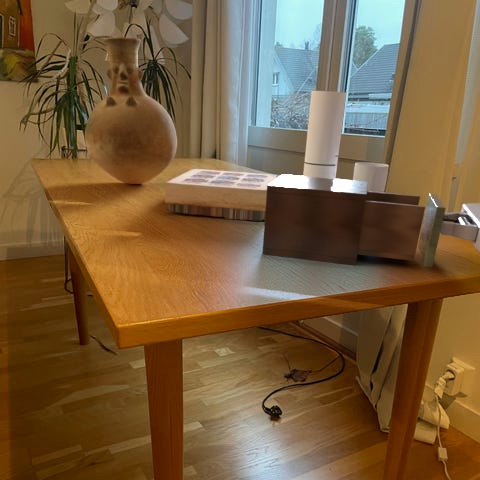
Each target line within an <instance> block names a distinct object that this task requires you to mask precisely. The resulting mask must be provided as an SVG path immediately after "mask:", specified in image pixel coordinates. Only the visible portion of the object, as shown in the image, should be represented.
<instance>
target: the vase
mask: <svg viewBox="0 0 480 480" xmlns="http://www.w3.org/2000/svg"><path fill="white" fill-rule="evenodd" d="M102 41H103V43H104V45H105V47H106V50H107V53H108V57H109V62H110V66H109V68H108V69H107V71H106V75H107V77H108V79H109V80H110V81H111V88H110V91H109V94H108V95H107V96H106V97H105V98H103V99H102V100H100V101H99V102H98V103H97V104H96V105H95V107H94V108H93V109H92V111H91V112H90V114H89V116H88V119H87V121H86V124H85V129H84V142H85V148H86V151H87V153H88V155H89V157H90V159H92V161H93V162H94V163H95V164H96V165H97V166H98V167H99V168H100V169H101V170H103V171H104V172H105V173H107V174H108V175H109V176H111V177H112V178H114V179H116V180H118V181H119V182H122V183H125V184H129V185H139V184H140V185H141V184H145V183H148V182H150V181H151V180H153V179H154V178H156V177H158V176H159V175H160V174H161V173H163V171H165V170H166V169H167V168H168V167H169V166H170V164H171V163H172V162H173V160H174V158H175V156H176V153H177V148H178V136H177V132H176V128H175V124H174V122H173V119H172V117H171V116H170V114H169V113H168V111H167V110H166V109H165V107H164V106H163V105H162V104H160V102H158V101H157V100H155V99H154V98H152V97H150V96H149V95H148V94H147V93H146V92H145V90H144V86H143V84H142V79H143V77H144V72H143V70H142V69H141V68H139V49H140V46H141V44H142V40H141V39H140V38H136V37H124V36H112V37H111V36H110V37H106V38H103V39H102Z"/></svg>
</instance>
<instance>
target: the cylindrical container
mask: <svg viewBox="0 0 480 480" xmlns="http://www.w3.org/2000/svg"><path fill="white" fill-rule="evenodd" d="M346 100H347V92H346V91H345V92H344V91H331V90H330V91H329V90H311V94H310V104H309V111H308V112H309V113H308V121H307V122H308V125H307V132H306V133H307V134H306V145H305V151H304V152H305V154H304V164H303V174H302V176H306V177H317V178H329V179H337V178H336V176H337V169H338V163H339V154H340V146H341V138H342V131H343V130H342V129H343V123H344V115H345V108H346V107H345V106H346Z"/></svg>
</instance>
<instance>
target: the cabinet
mask: <svg viewBox="0 0 480 480" xmlns="http://www.w3.org/2000/svg"><path fill="white" fill-rule="evenodd" d="M367 188H368V182H364V181H353V179H341V178H335V179H329V178H317V177H306V176H303V175H293V174H281V175H278V178H277V179H275V180H274V181H273V182H271V183H270V184H269V185H267V195H266V210H265V220H264V226H263V239H262V255H267V256H276V257H282V258H283V257H285V258H291V259H300V260H307V261H315V262H324V263H325V262H326V263H333V264H342V265H349V266H356V265H357V259H358V254H357V253H358V247H359V241H360V234H361V228H362V222H363V215H364V209H365V203H366V196H367Z"/></svg>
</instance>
